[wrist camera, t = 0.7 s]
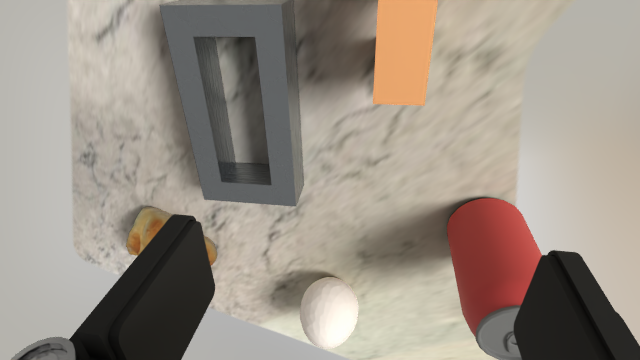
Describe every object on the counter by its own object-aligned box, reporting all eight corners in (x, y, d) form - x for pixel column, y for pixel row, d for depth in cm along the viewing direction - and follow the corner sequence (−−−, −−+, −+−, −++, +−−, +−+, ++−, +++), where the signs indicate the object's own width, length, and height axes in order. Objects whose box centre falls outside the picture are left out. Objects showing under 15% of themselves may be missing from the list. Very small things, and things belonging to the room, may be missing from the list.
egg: (338, 309, 44) (329, 371, 37) (296, 283, 43) (280, 342, 36) (372, 284, 41) (368, 346, 34) (328, 255, 40) (316, 314, 33)
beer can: (440, 247, 37) (460, 361, 26) (451, 191, 33) (478, 298, 23) (512, 253, 36) (559, 374, 26) (531, 197, 32) (595, 310, 22)
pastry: (226, 231, 40) (212, 256, 37) (214, 270, 44) (200, 295, 41) (144, 198, 40) (123, 220, 37) (138, 240, 44) (119, 264, 40)
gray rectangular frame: (183, -1, 28) (159, 5, 25) (293, -2, 27) (281, 4, 24) (219, 179, 36) (204, 199, 34) (304, 184, 35) (296, 206, 32)
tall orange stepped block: (383, -54, 24) (381, -55, 18) (431, -56, 24) (445, -57, 18) (376, 69, 28) (372, 103, 22) (416, 70, 28) (424, 105, 22)
